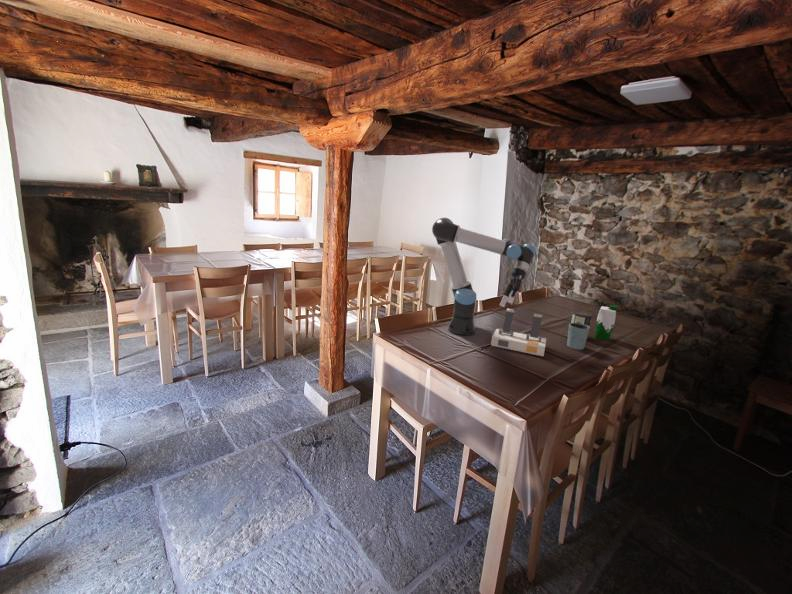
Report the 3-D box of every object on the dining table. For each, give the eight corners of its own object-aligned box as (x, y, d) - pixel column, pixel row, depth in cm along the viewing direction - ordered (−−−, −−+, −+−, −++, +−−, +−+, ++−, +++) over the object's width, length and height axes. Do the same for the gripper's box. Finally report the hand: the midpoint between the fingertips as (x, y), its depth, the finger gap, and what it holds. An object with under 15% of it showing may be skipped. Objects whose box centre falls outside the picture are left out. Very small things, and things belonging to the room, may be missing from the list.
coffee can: (584, 334, 229) (589, 311, 225) (589, 340, 219) (594, 316, 215) (566, 331, 231) (571, 309, 227) (570, 337, 221) (575, 314, 217)
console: (490, 345, 200) (492, 332, 198) (495, 337, 213) (497, 324, 211) (543, 356, 191) (545, 342, 189) (544, 347, 203) (547, 334, 201)
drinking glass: (575, 351, 201) (580, 329, 198) (560, 343, 210) (564, 323, 207) (589, 349, 205) (594, 328, 202) (574, 342, 214) (578, 321, 211)
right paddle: (530, 336, 198) (534, 312, 201) (529, 337, 200) (534, 314, 203) (538, 337, 197) (542, 314, 199) (538, 338, 199) (542, 315, 201)
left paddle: (502, 330, 203) (507, 307, 205) (502, 331, 205) (507, 308, 207) (510, 332, 202) (514, 309, 204) (510, 333, 204) (514, 310, 206)
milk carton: (610, 341, 219) (618, 308, 214) (592, 338, 223) (599, 305, 218) (610, 337, 226) (618, 305, 221) (593, 334, 230) (600, 302, 225)
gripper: (534, 268, 202) (519, 303, 198) (518, 278, 226) (504, 310, 223) (521, 261, 202) (506, 297, 198) (506, 272, 227) (492, 304, 223)
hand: (505, 304), depth 211 cm, fingers open, 13 cm apart
